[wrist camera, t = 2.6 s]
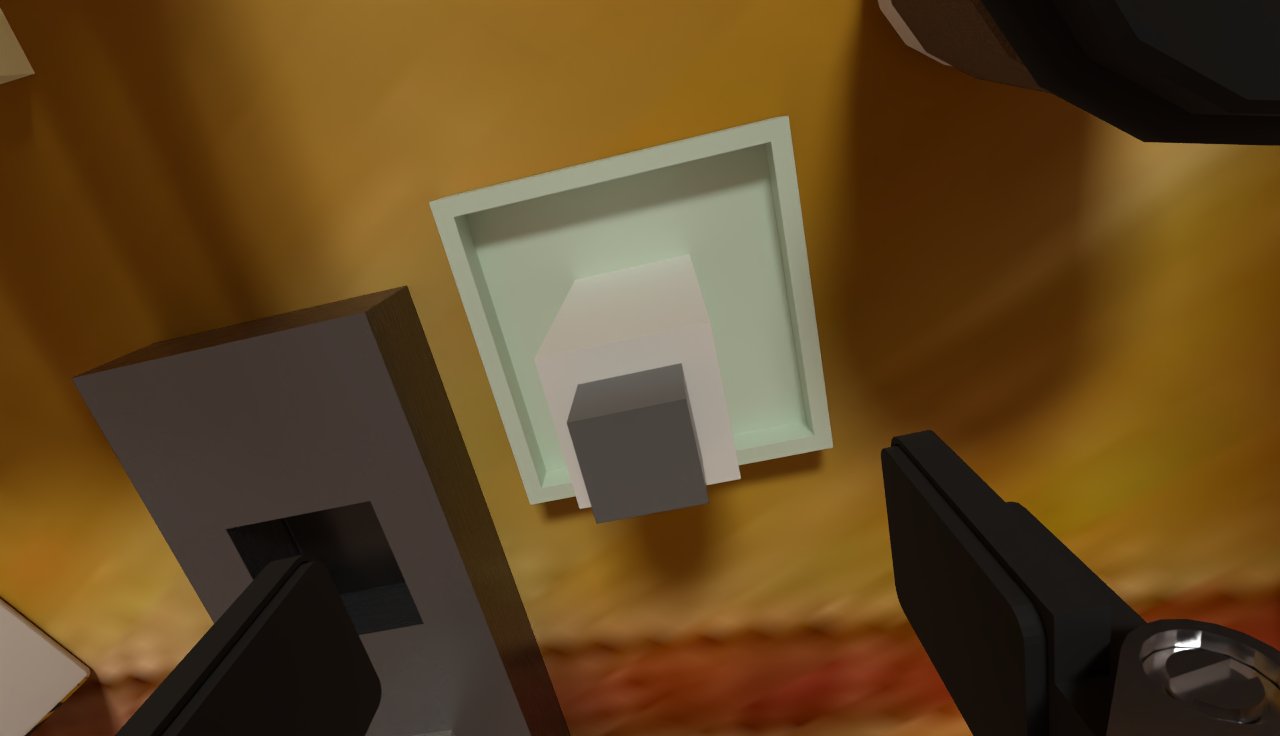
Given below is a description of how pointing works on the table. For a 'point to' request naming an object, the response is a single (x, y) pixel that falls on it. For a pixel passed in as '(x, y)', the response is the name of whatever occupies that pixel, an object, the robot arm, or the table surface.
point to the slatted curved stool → (11, 55)
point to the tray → (637, 235)
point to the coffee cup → (1119, 59)
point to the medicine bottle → (32, 674)
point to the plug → (638, 391)
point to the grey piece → (336, 499)
